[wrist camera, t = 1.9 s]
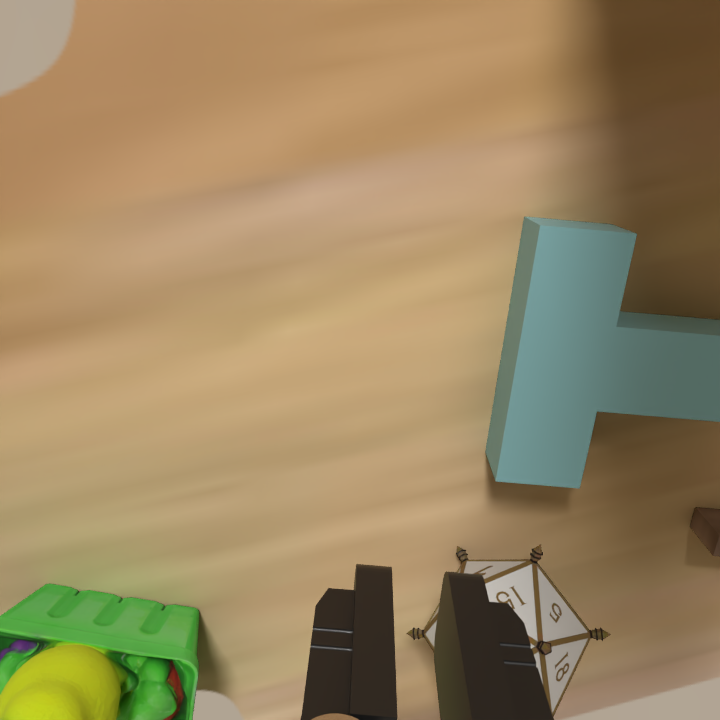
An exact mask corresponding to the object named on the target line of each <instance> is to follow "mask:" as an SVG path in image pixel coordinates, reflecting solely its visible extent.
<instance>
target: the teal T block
mask: <svg viewBox="0 0 720 720" xmlns="http://www.w3.org/2000/svg"><path fill="white" fill-rule="evenodd" d="M636 237H637V233H634V232H631V231H629V230H626V229H623V228H621V227H618V226H615V225H613V224H604V223H593V222H581V221H569V220H558V219H546V218H535V217H524V221H523V227H522V233H521V239H520V245H519V251H518V257H517V263H516V269H515V275H514V281H513V287H512V293H511V299H510V306H509V312H508V318H507V324H506V330H505V336H504V342H503V348H502V354H501V360H500V366H499V372H498V378H497V384H496V390H495V396H494V402H493V408H492V415H491V421H490V427H489V433H488V439H487V445H486V451H485V452H486V455H487V458H488V461H489V464H490V467H491V469H492V472H493V475H494V478H495V481H497V482H509V483H521V484H533V485H544V486H556V487H568V488H580V485H581V480H582V476H583V472H584V467H585V463H586V458H587V454H588V449H589V445H590V441H591V436H592V432H593V427H594V423H595V418H596V414H597V411H598V412H610V413H621V414H633V415H645V416H657V417H669V418H680V419H692V420H704V421H716V422H720V320H716V319H704V318H693V317H681V316H669V315H658V314H646V313H634V312H623V311H620V308H621V303H622V299H623V294H624V290H625V285H626V281H627V277H628V272H629V268H630V263H631V259H632V254H633V250H634V246H635V241H636Z"/></svg>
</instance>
